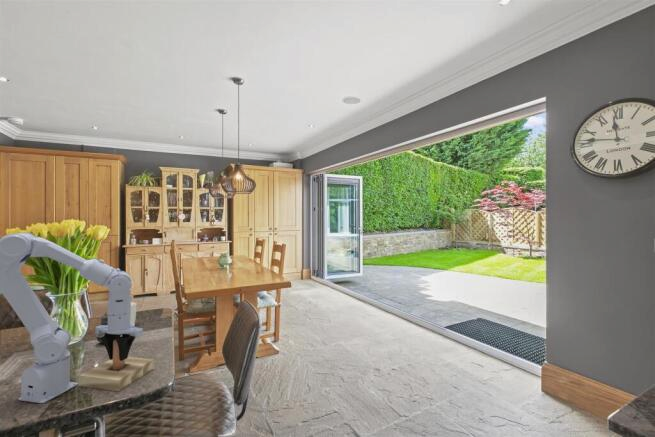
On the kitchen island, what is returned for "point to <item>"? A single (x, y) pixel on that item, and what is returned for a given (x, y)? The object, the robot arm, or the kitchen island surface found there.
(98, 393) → the kitchen island surface
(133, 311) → the white cup
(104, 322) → the chess piece
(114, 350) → the peg
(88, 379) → the socket block
